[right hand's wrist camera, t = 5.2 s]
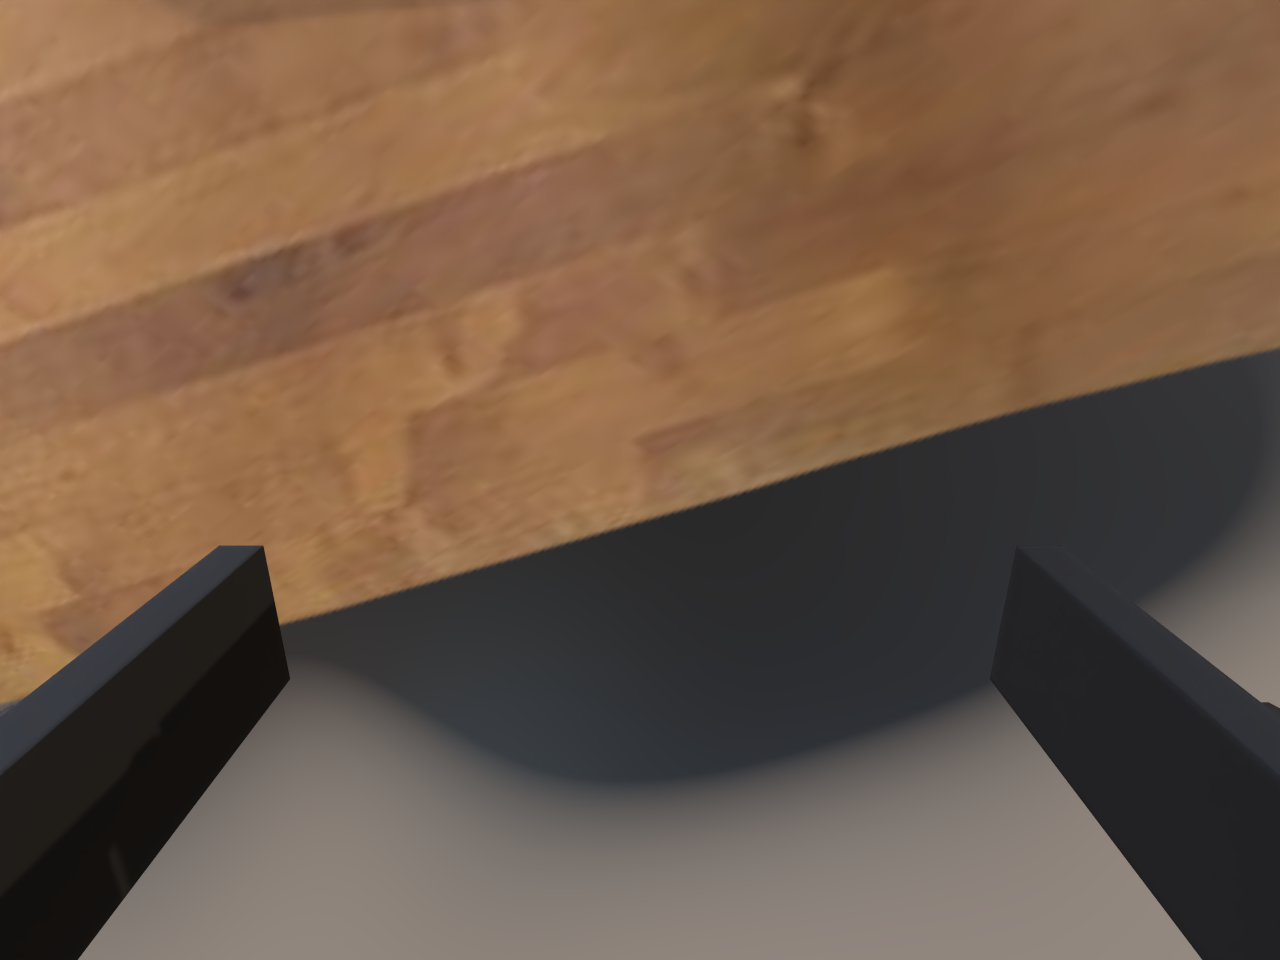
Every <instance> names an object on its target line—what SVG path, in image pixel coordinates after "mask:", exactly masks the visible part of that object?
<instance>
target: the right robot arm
mask: <svg viewBox="0 0 1280 960" xmlns="http://www.w3.org/2000/svg"><path fill="white" fill-rule="evenodd" d="M289 680H290V676H289V671H288V666H287V661H286V656H285V651H284V647H283V642H282V637H281V631H280V626H279V622H278V617H277V612H276V607H275V602H274V597H273V592H272V587H271V582H270V577H269V572H268V567H267V562H266V557H265V552H264V547H263V546H218V547H217V548H216V549H215V550H213V551H212V552H211V553H209V554H208V555H207V556H206V557H204V558H203V559H202V560H201V561H199V562H198V563H197V564H195V565H194V566H193V567H192V568H190V569H189V570H188V571H186V572H185V573H184V574H183V575H181V576H180V577H179V578H178V579H176V580H175V581H174V582H172V583H171V584H170V585H169V586H167V587H166V588H165V589H163V590H162V591H161V592H160V593H158V594H157V595H156V596H154V597H153V598H152V599H151V600H149V601H148V602H147V603H146V604H144V605H143V606H142V607H140V608H139V609H138V610H137V611H135V612H134V613H133V614H131V615H130V616H129V617H128V618H126V619H125V620H124V621H123V622H121V623H120V624H119V625H117V626H116V627H115V628H114V629H112V630H111V631H110V632H108V633H107V634H106V635H105V636H103V637H102V638H101V639H100V640H98V641H97V642H96V643H94V644H93V645H92V646H91V647H89V648H88V649H87V650H85V651H84V652H83V653H82V654H80V655H79V656H78V657H77V658H75V659H74V660H73V661H71V662H70V663H69V664H68V665H66V666H65V667H64V668H62V669H61V670H60V671H59V672H57V673H56V674H55V675H54V676H52V677H51V678H50V679H48V680H47V681H46V682H45V683H43V684H42V685H41V686H39V687H38V688H37V689H36V690H34V691H33V692H32V693H31V694H29V695H28V696H27V697H25V698H24V699H23V700H22V701H20V702H19V703H18V704H17V705H12V706H10V707H8V708H6V709H4V710H2V711H0V960H78V959H79V957H80V956H81V955H82V953H83V952H84V951H85V949H86V948H87V947H88V945H89V944H90V943H91V941H92V940H93V939H94V937H95V936H96V935H97V934H98V932H99V931H100V930H101V928H102V927H103V926H104V924H105V923H106V922H107V920H108V919H109V918H110V916H111V915H112V914H113V912H114V911H115V910H116V908H117V907H118V906H119V904H120V903H121V902H122V900H123V899H124V898H125V897H126V895H127V894H128V893H129V891H130V890H131V889H132V887H133V886H134V885H135V883H136V882H137V881H138V879H139V878H140V877H141V875H142V874H143V873H144V871H145V870H146V869H147V867H148V866H149V865H150V863H151V862H152V861H153V859H154V858H155V857H156V855H157V854H158V853H159V852H160V850H161V849H162V848H163V846H164V845H165V844H166V842H167V841H168V840H169V838H170V837H171V836H172V834H173V833H174V832H175V830H176V829H177V828H178V826H179V825H180V824H181V823H182V821H183V820H184V819H185V817H186V816H187V814H188V813H189V812H190V811H191V809H192V808H193V807H194V805H195V804H196V803H197V801H198V800H199V799H200V797H201V796H202V795H203V793H204V792H205V791H206V789H207V788H208V787H209V786H210V784H211V783H212V782H213V780H214V779H215V778H216V776H217V775H218V774H219V772H220V771H221V770H222V768H223V767H224V766H225V764H226V763H227V762H228V760H229V759H230V758H231V756H232V755H233V754H234V752H235V751H236V750H237V748H238V747H239V746H240V744H241V743H242V742H243V741H244V739H245V738H246V737H247V735H248V734H249V733H250V731H251V730H252V729H253V727H254V726H255V725H256V723H257V722H258V721H259V719H260V718H261V717H262V715H263V714H264V713H265V711H266V710H267V709H268V708H269V706H270V705H271V704H272V702H273V701H274V700H275V698H276V697H277V696H278V694H279V693H280V692H281V690H282V689H283V688H284V686H285V685H286V684H287V682H288V681H289ZM990 680H991V681H992V682H993V684H994V685H995V686H996V688H997V689H998V690H999V692H1000V693H1001V694H1002V696H1003V697H1004V698H1005V700H1006V701H1007V702H1008V704H1009V705H1010V706H1011V708H1012V709H1013V710H1014V711H1015V713H1016V714H1017V715H1018V717H1019V718H1020V719H1021V721H1022V722H1023V723H1024V725H1025V726H1026V727H1027V729H1028V730H1029V731H1030V733H1031V734H1032V735H1033V737H1034V738H1035V739H1036V741H1037V742H1038V743H1039V745H1040V746H1041V747H1042V748H1043V750H1044V751H1045V752H1046V754H1047V755H1048V756H1049V758H1050V759H1051V760H1052V762H1053V763H1054V764H1055V766H1056V767H1057V768H1058V770H1059V771H1060V772H1061V774H1062V775H1063V776H1064V778H1065V779H1066V780H1067V782H1068V783H1069V784H1070V786H1071V787H1072V788H1073V789H1074V791H1075V792H1076V793H1077V795H1078V796H1079V797H1080V799H1081V800H1082V801H1083V803H1084V804H1085V805H1086V807H1087V808H1088V809H1089V811H1090V812H1091V813H1092V815H1093V816H1094V817H1095V819H1096V820H1097V821H1098V823H1099V824H1100V825H1101V826H1102V828H1103V829H1104V830H1105V832H1106V833H1107V834H1108V836H1109V837H1110V838H1111V840H1112V841H1113V842H1114V844H1115V845H1116V846H1117V848H1118V849H1119V850H1120V851H1121V853H1122V854H1123V856H1124V857H1125V858H1126V860H1127V861H1128V862H1129V863H1130V865H1131V866H1132V867H1133V869H1134V870H1135V871H1136V873H1137V874H1138V875H1139V877H1140V878H1141V879H1142V881H1143V882H1144V883H1145V885H1146V886H1147V887H1148V889H1149V890H1150V891H1151V893H1152V894H1153V895H1154V896H1155V898H1156V899H1157V900H1158V902H1159V903H1160V904H1161V906H1162V907H1163V908H1164V910H1165V911H1166V912H1167V914H1168V915H1169V916H1170V918H1171V919H1172V920H1173V922H1174V923H1175V924H1176V926H1177V927H1178V928H1179V930H1180V931H1181V932H1182V934H1183V935H1184V936H1185V937H1186V939H1187V940H1188V941H1189V943H1190V944H1191V945H1192V947H1193V948H1194V949H1195V951H1196V952H1197V953H1198V955H1199V956H1200V957H1201V959H1202V960H1280V708H1278V707H1276V706H1274V705H1272V704H1271V703H1267V702H1263V703H1262V702H1260V701H1258V700H1257V699H1256V698H1255V697H1253V696H1252V695H1251V694H1249V693H1248V692H1247V691H1246V690H1244V689H1243V688H1242V687H1241V686H1239V685H1238V684H1237V683H1235V682H1234V681H1233V680H1232V679H1230V678H1229V677H1228V676H1226V675H1225V674H1224V673H1223V672H1221V671H1220V670H1219V669H1218V668H1216V667H1215V666H1214V665H1212V664H1211V663H1210V662H1209V661H1207V660H1206V659H1205V658H1203V657H1202V656H1201V655H1200V654H1198V653H1197V652H1196V651H1195V650H1193V649H1192V648H1191V647H1189V646H1188V645H1187V644H1185V643H1184V642H1183V641H1182V640H1180V639H1179V638H1178V637H1177V636H1175V635H1174V634H1173V633H1171V632H1170V631H1169V630H1168V629H1166V628H1165V627H1164V626H1163V625H1161V624H1160V623H1159V622H1157V621H1156V620H1155V619H1154V618H1152V617H1151V616H1150V615H1148V614H1147V613H1146V612H1145V611H1143V610H1142V609H1141V608H1140V607H1138V606H1137V605H1136V604H1134V603H1133V602H1132V601H1131V600H1129V599H1128V598H1127V597H1125V596H1124V595H1123V594H1122V593H1120V592H1119V591H1118V590H1117V589H1115V588H1114V587H1113V586H1111V585H1110V584H1109V583H1108V582H1106V581H1105V580H1104V579H1102V578H1101V577H1100V576H1099V575H1097V574H1096V573H1095V572H1094V571H1092V570H1091V569H1090V568H1088V567H1087V566H1086V565H1085V564H1083V563H1082V562H1081V561H1079V560H1078V559H1077V558H1076V557H1074V556H1073V555H1072V554H1071V553H1069V552H1068V551H1067V550H1065V549H1064V548H1063V547H1062V546H1017V547H1016V552H1015V557H1014V562H1013V567H1012V572H1011V577H1010V582H1009V587H1008V592H1007V597H1006V602H1005V607H1004V612H1003V617H1002V621H1001V626H1000V632H999V636H998V642H997V647H996V651H995V656H994V661H993V666H992V671H991V676H990Z"/></svg>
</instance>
